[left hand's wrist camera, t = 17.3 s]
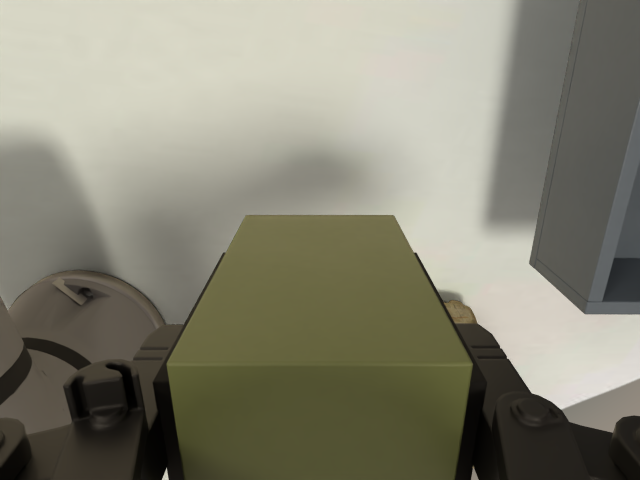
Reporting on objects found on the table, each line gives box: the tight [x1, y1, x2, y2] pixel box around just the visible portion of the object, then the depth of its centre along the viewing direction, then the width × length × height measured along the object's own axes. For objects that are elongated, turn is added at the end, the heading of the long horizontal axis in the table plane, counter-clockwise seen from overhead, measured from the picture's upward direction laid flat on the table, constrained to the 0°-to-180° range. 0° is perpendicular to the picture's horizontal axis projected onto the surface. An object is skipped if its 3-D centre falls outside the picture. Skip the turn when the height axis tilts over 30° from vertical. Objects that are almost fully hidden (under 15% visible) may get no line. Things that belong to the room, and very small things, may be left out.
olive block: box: [167, 215, 473, 480], centre depth 12 cm, size 5×5×8 cm
